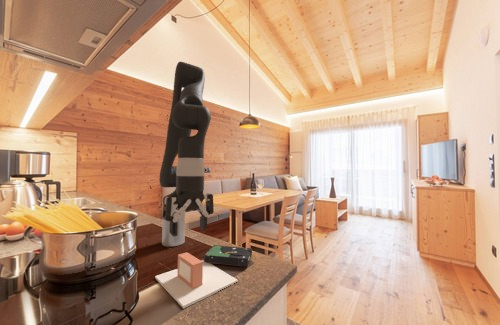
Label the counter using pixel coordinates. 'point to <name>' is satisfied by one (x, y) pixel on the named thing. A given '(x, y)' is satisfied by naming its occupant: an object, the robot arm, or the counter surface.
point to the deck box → (190, 270)
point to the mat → (188, 296)
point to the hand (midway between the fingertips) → (189, 232)
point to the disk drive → (228, 255)
